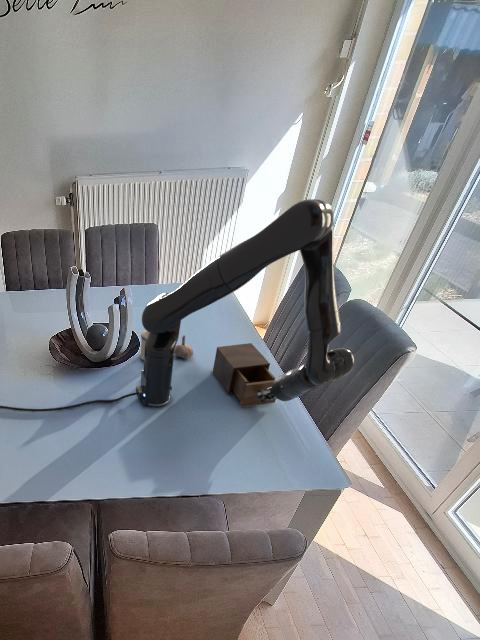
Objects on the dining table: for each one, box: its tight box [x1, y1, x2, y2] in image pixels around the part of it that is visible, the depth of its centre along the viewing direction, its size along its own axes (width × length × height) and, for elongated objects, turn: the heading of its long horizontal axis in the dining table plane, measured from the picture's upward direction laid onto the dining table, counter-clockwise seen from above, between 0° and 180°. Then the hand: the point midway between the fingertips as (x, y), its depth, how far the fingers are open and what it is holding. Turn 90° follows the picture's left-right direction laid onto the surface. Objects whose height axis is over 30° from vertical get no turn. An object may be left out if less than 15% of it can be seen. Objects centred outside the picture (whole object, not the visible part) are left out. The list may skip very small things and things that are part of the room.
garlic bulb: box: [174, 334, 194, 360], centre depth 169 cm, size 8×7×8 cm
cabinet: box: [212, 342, 271, 395], centre depth 156 cm, size 15×13×10 cm
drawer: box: [231, 366, 277, 408], centre depth 149 cm, size 15×11×8 cm
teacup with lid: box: [140, 329, 149, 361], centre depth 168 cm, size 12×9×12 cm
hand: (263, 398), depth 144 cm, fingers closed
